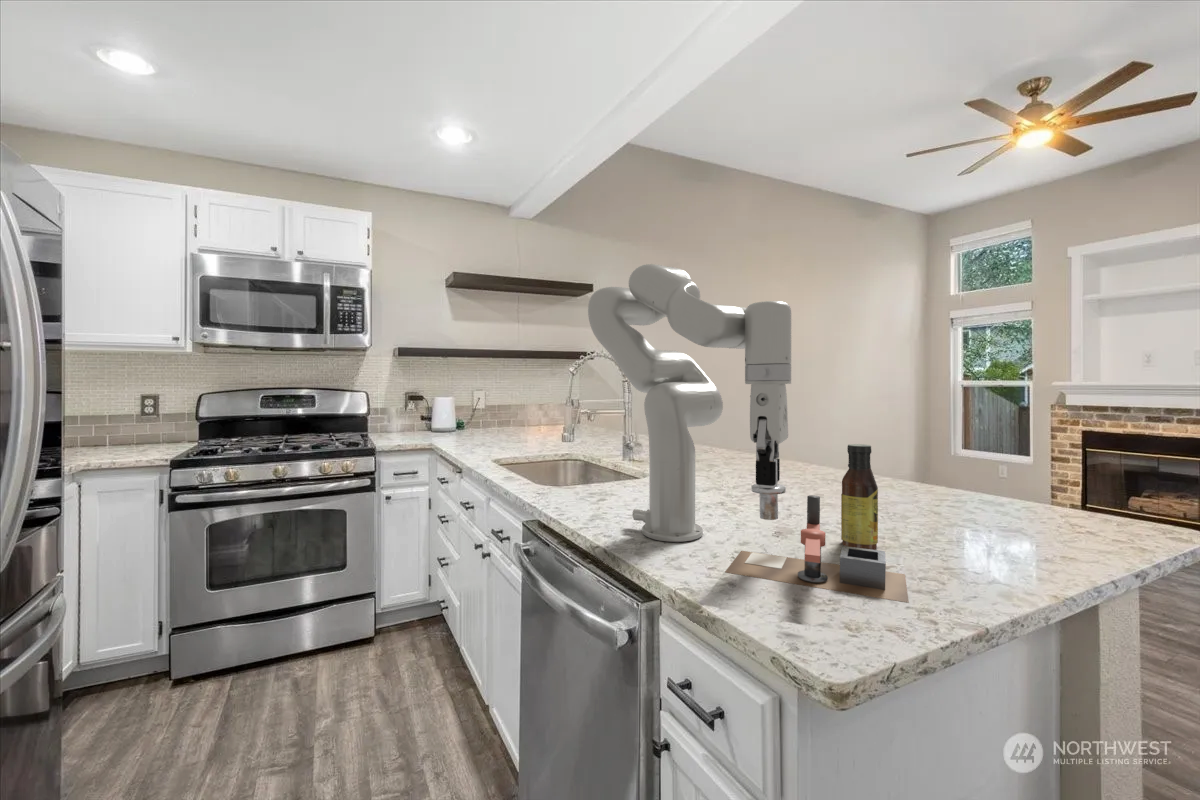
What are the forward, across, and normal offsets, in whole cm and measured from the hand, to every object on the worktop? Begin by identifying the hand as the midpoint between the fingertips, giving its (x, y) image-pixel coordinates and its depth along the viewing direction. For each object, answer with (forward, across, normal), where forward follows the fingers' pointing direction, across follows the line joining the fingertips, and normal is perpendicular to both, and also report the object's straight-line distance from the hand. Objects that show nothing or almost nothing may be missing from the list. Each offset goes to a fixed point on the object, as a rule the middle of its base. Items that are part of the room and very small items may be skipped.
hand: (767, 481), depth 91 cm
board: (+15, -2, -8) cm, 17 cm away
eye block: (+15, -2, -15) cm, 21 cm away
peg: (+6, 0, 0) cm, 6 cm away
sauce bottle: (+15, +17, -14) cm, 27 cm away
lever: (+8, -6, -8) cm, 13 cm away
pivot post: (+15, -5, -8) cm, 17 cm away
